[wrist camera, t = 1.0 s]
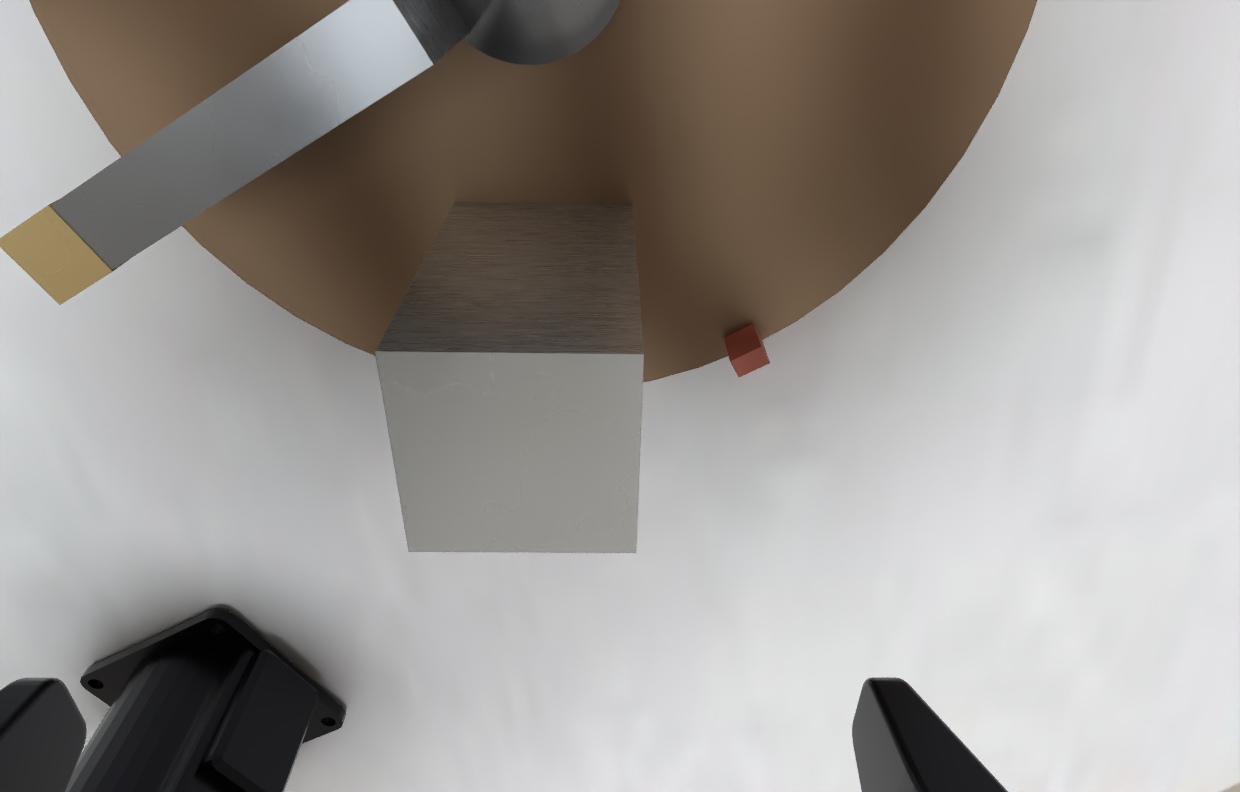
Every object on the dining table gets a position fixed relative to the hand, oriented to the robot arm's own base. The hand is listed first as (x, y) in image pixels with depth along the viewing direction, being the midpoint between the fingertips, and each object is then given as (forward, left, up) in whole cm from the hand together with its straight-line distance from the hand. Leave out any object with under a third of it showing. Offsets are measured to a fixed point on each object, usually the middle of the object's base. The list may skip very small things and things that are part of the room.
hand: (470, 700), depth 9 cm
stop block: (0, 0, -12) cm, 12 cm away
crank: (0, +6, -11) cm, 13 cm away
